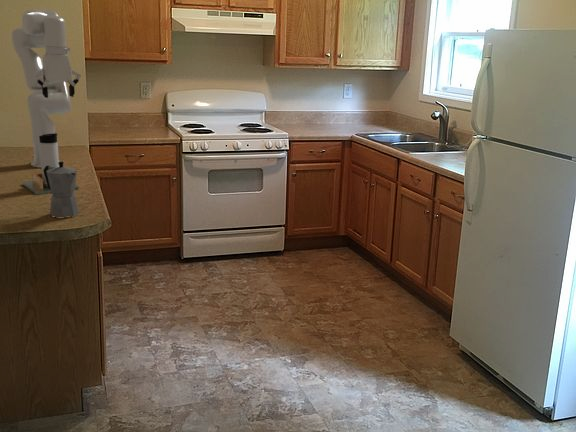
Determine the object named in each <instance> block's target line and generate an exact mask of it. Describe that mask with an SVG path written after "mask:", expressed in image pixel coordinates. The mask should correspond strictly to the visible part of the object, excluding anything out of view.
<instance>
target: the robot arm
mask: <svg viewBox="0 0 576 432" xmlns="http://www.w3.org/2000/svg"><path fill="white" fill-rule="evenodd" d="M21 26H22V27H17V28H15V29H13V31H12V32H11V42H12V46H13V49H14V51H15V53H16V55H17V57H18V58H19V60H20V62H21V66H22V70H23V75H24V79H25V82H26V85H27V88H28V89H29V90H30V91H32V93H29V95H27V98H26V102H27V103H26V104H27V107H28V112H29V118H30V124H31V136H32V148H33V149H32V150H33V159H34V160H33V161H31V162H30V166H31V167H33V168H41V169H42V166H41V154H40V139H39V136H42V135H44V134H53V133H56V125H55V122H54V121H53V120H52V119H51V118H50V116H49V115H57V114H59V115H61V114H67V113H70V111H71V108H72V101H71V98H70V97H72V98H74V97H75V96H74V95H75V93H76V92H75V91H76V90H75V87H76V85H77V84H78V83H79V82H80V81H79V80H80V79H81V73H79V72H76V71H74V70H72V64H71V59H70V56H69V54H68V53H69V52H71V47H68V46H67V37H66V36H67V35H66V34H67V33H66V32H67V31H66V21H65V19H64V18H63V17H61V16H60V15H58V13H57V12H56V11H54V10H50V9H29V10H26V11H24V12H23V14H22V16H21ZM39 48H40V49H45V54H43V57H41V56H40V55H39V54H38V53H37V52H36V51H34V50H33V49H39ZM73 76H75V78H74V79H73ZM67 83H68V84H69V85H68V84H67ZM60 161H61V160H59V162H60Z"/></svg>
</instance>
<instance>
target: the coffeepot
mask: <svg viewBox="0 0 576 432" xmlns="http://www.w3.org/2000/svg"><path fill="white" fill-rule="evenodd" d="M58 163H59V167H57V168H55V167H53V166H46V167H45V168H44V175H45V178H46V182H47V185H48V188H49V189H50V190H51V191H52V193H51V194H52V196H51V197H50V200H51V201H50V209H49V211H50V212H49V215H50V214H51V215H52V216H55V217H66V216H74V215H76V214H78V213H79V214H80V211H79V207H78V203H77V200H76V195H75V193H74V191H75V185H77V184H76V183H77V182H76V181H77V169H76V168H73V167H67V166H64V161H61V160H60V162H58ZM79 214H78V215H79ZM51 215H50V216H51ZM52 216H51V217H52Z"/></svg>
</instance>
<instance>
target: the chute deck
mask: <svg viewBox="0 0 576 432" xmlns="http://www.w3.org/2000/svg"><path fill="white" fill-rule="evenodd" d="M31 178H32V180H29V181H22V183H21V184H22V186H24V187H25V188H26V189H27V190H29V191H30V192H31V193H33V194H34V195H42V194H52V191H51V190H50V189H49V188H48V187H45V186H43V179H42V172H37V173H32V174H31ZM75 190H80V187H79V186H78V185H77V184H75ZM75 190H74V191H75Z"/></svg>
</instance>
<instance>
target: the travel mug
mask: <svg viewBox="0 0 576 432" xmlns="http://www.w3.org/2000/svg"><path fill="white" fill-rule="evenodd" d="M39 139H40V154H41V166H42V168H41V173H42V179H43V186H45V187H48V185H47V182H46V178H45V175H44V168H45V167H46V166H53V167H55V168H57V167H59V163H58V162H59V159H60V158H59V146H58V145H59V144H58V133H53V134H44V135H42V136H39Z"/></svg>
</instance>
